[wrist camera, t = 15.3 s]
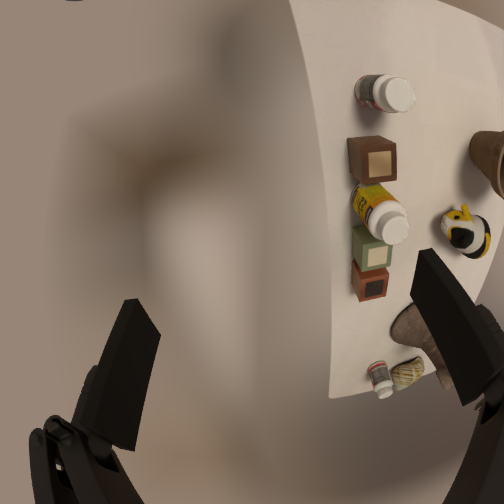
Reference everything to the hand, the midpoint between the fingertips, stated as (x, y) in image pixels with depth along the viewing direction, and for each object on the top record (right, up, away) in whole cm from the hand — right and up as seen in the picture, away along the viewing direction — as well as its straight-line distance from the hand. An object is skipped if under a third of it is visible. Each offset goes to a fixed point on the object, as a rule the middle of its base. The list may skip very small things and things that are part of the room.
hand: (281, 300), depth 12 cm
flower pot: (+38, +20, +19) cm, 47 cm away
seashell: (+44, -31, +54) cm, 76 cm away
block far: (+17, +4, +29) cm, 34 cm away
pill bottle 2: (+33, -29, +52) cm, 68 cm away
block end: (+19, -1, +33) cm, 38 cm away
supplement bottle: (+16, +10, +26) cm, 32 cm away
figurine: (+37, +8, +28) cm, 47 cm away
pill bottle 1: (+14, +23, +17) cm, 32 cm away
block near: (+14, +16, +22) cm, 30 cm away
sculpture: (+39, -13, +42) cm, 59 cm away
